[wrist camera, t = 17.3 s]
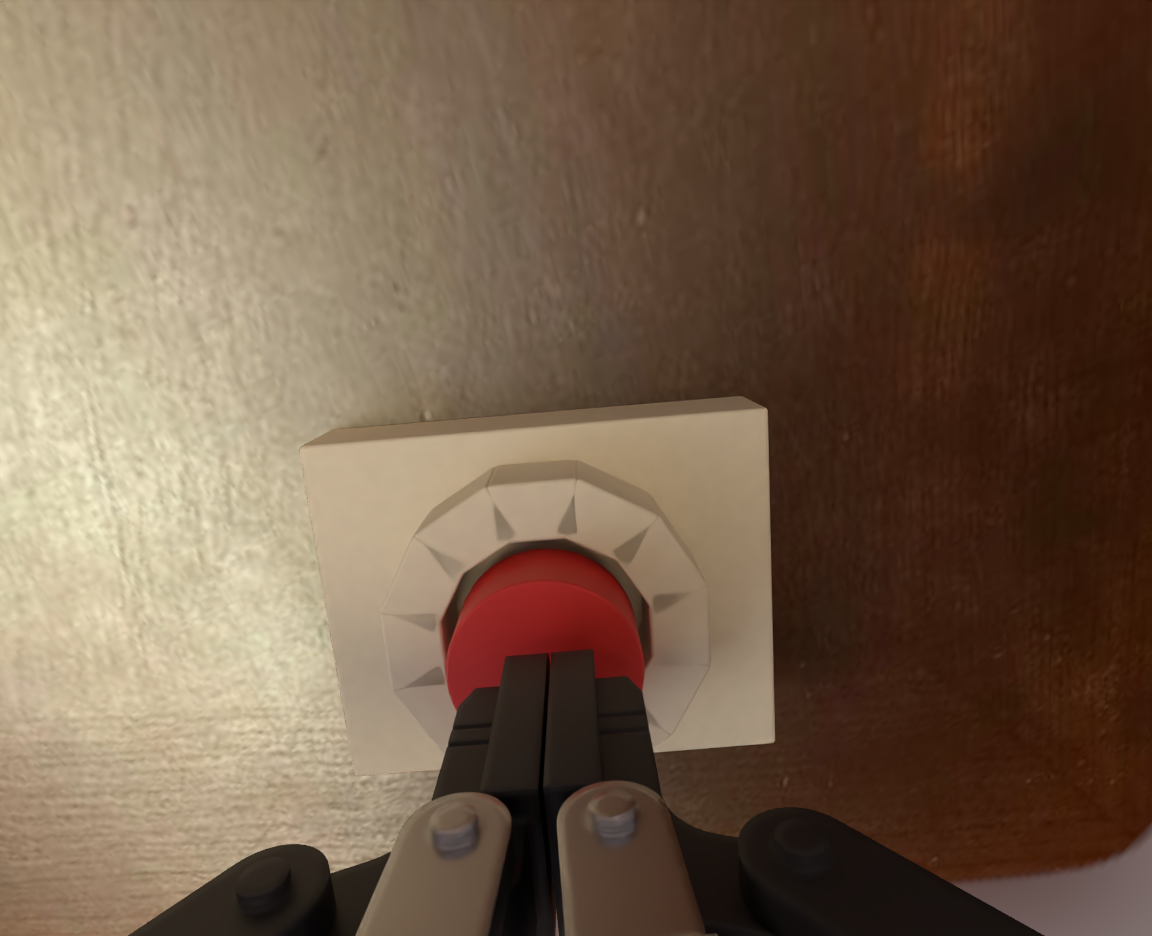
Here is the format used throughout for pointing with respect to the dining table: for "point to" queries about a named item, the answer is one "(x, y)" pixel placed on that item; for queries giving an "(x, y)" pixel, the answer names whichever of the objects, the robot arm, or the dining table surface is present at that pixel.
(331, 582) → the box
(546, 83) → the dining table surface
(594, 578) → the button
